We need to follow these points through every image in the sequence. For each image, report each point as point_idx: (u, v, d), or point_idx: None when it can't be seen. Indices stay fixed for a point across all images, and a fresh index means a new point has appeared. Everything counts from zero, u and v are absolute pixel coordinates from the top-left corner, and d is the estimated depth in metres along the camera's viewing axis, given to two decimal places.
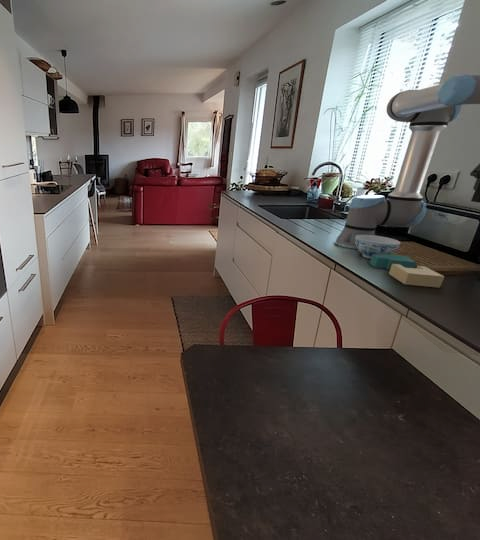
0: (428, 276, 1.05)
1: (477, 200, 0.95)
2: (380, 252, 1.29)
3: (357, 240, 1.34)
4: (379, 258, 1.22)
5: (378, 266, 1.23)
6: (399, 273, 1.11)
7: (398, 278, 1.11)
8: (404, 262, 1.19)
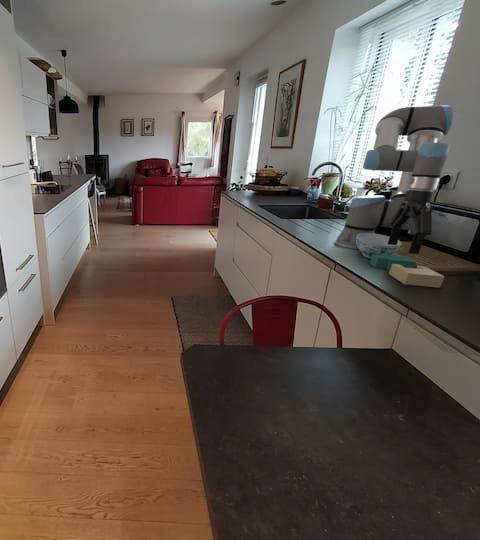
0: (428, 276, 1.05)
1: None
2: (380, 253, 1.29)
3: (358, 240, 1.34)
4: (379, 258, 1.22)
5: (378, 266, 1.23)
6: (399, 273, 1.11)
7: (398, 278, 1.11)
8: (404, 262, 1.19)
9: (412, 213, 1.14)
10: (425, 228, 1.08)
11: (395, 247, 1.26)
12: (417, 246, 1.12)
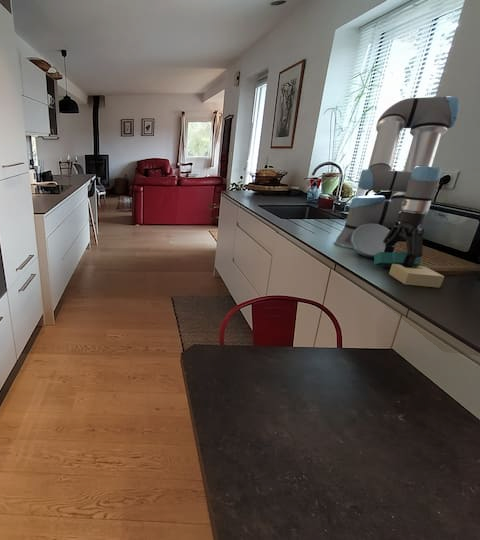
0: (428, 276, 1.05)
1: None
2: None
3: (352, 243, 1.35)
4: (382, 252, 1.20)
5: (384, 261, 1.19)
6: (399, 273, 1.11)
7: (398, 278, 1.11)
8: None
9: (404, 234, 1.17)
10: (416, 250, 1.11)
11: None
12: (408, 267, 1.16)
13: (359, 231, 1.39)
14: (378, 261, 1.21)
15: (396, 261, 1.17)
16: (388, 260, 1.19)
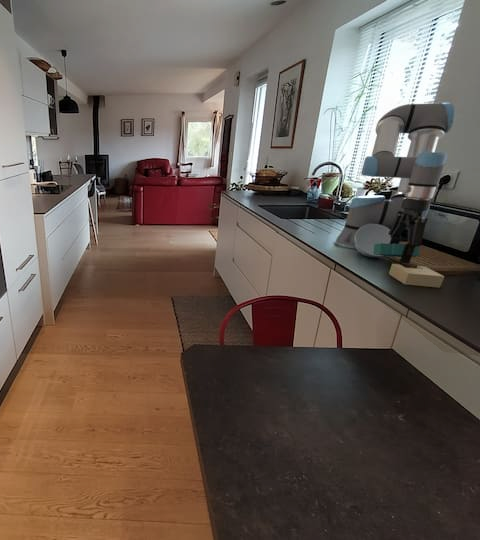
0: (428, 276, 1.05)
1: None
2: (372, 257, 1.34)
3: (355, 241, 1.35)
4: (382, 244, 1.21)
5: (383, 252, 1.21)
6: (399, 273, 1.11)
7: (398, 278, 1.11)
8: None
9: (407, 222, 1.16)
10: (416, 240, 1.12)
11: None
12: (408, 256, 1.17)
13: (362, 230, 1.38)
14: (377, 252, 1.22)
15: (395, 253, 1.18)
16: (387, 251, 1.20)
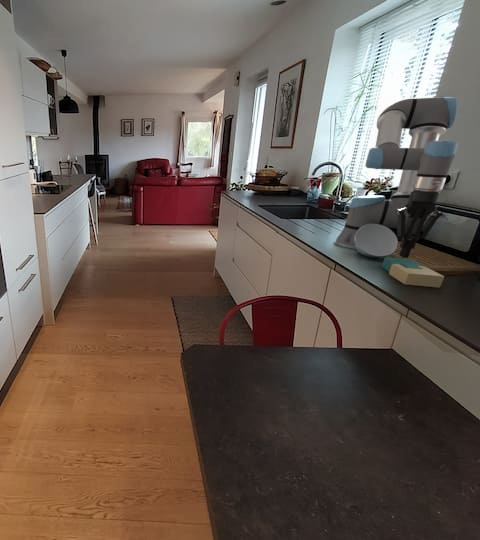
0: (428, 276, 1.05)
1: (403, 256, 1.16)
2: (372, 257, 1.34)
3: (355, 241, 1.35)
4: None
5: None
6: (399, 273, 1.11)
7: (398, 278, 1.11)
8: None
9: (424, 216, 1.10)
10: None
11: None
12: None
13: (362, 230, 1.38)
14: None
15: None
16: None
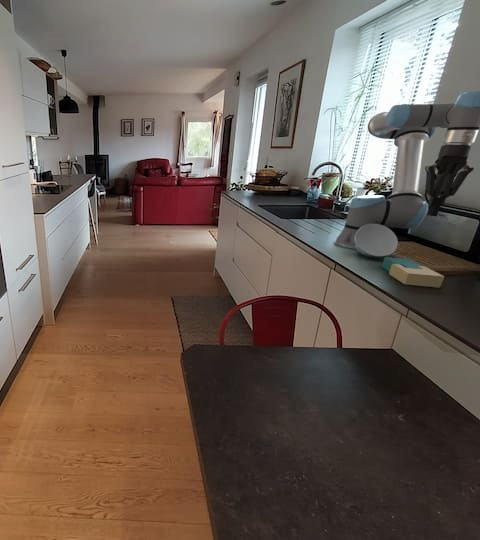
0: (428, 276, 1.05)
1: (431, 214, 1.14)
2: (372, 257, 1.34)
3: (355, 241, 1.35)
4: None
5: None
6: (399, 273, 1.11)
7: (398, 278, 1.11)
8: None
9: (455, 171, 1.08)
10: None
11: None
12: None
13: (362, 230, 1.38)
14: None
15: None
16: None
